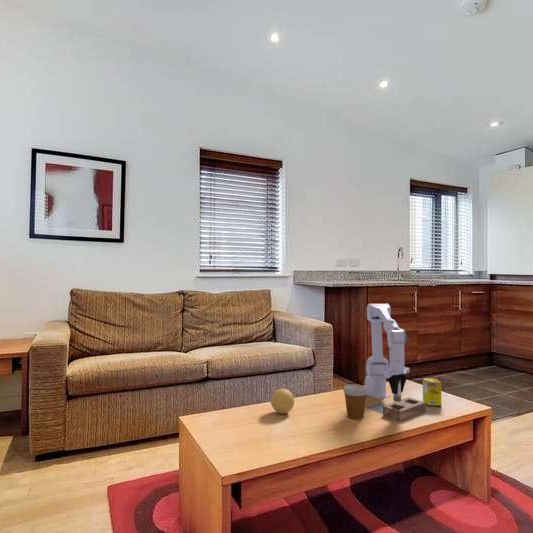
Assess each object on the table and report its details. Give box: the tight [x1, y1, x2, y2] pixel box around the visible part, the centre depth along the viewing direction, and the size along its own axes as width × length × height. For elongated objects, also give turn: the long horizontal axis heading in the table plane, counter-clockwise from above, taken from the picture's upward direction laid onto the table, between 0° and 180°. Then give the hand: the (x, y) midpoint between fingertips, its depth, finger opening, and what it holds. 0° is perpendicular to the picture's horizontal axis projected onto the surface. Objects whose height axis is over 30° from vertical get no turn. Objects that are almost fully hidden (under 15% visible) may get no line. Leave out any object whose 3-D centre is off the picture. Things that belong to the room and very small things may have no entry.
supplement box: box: [422, 378, 442, 408], centre depth 166 cm, size 6×6×11 cm
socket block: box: [382, 397, 427, 422], centre depth 155 cm, size 8×18×4 cm, turn 126°
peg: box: [392, 377, 402, 402], centre depth 153 cm, size 3×3×9 cm
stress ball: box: [270, 388, 295, 415], centre depth 157 cm, size 10×10×10 cm
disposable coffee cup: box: [343, 383, 367, 420], centre depth 152 cm, size 10×10×12 cm
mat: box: [364, 402, 386, 415], centre depth 161 cm, size 9×10×1 cm
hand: (397, 392), depth 153 cm, fingers closed on peg, 3 cm apart
